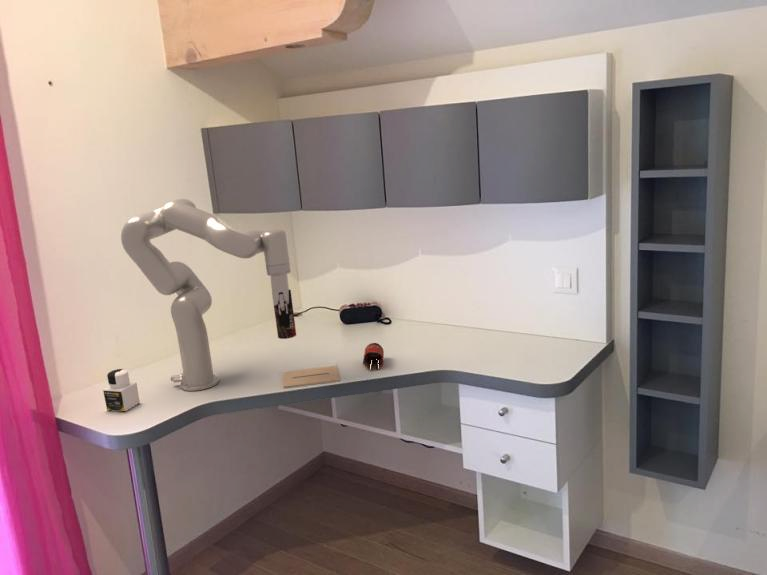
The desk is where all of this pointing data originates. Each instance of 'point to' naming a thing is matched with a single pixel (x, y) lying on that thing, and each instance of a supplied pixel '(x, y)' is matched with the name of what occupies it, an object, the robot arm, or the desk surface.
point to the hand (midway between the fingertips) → (285, 322)
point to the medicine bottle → (120, 391)
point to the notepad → (310, 376)
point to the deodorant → (290, 330)
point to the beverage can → (373, 355)
